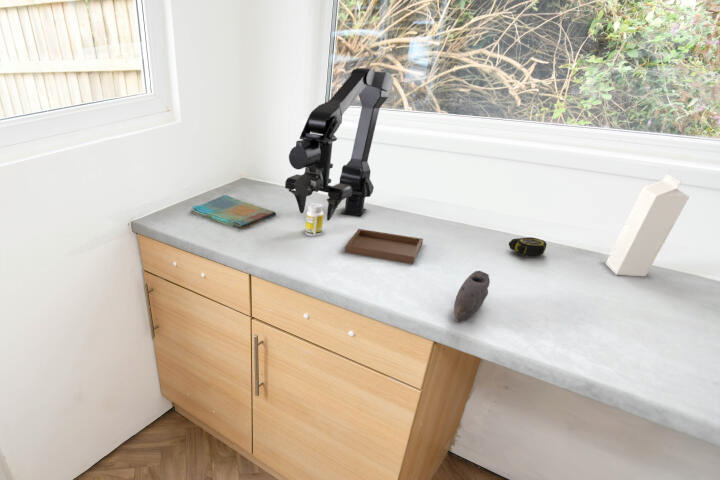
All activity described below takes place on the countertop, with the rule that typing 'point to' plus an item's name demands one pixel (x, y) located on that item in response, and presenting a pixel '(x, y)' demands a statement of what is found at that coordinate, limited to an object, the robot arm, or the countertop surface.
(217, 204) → the dish towel
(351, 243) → the tray
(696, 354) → the countertop surface
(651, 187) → the milk
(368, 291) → the countertop surface
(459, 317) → the perforated stone tool
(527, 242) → the tape measure
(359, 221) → the countertop surface
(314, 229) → the supplement bottle
